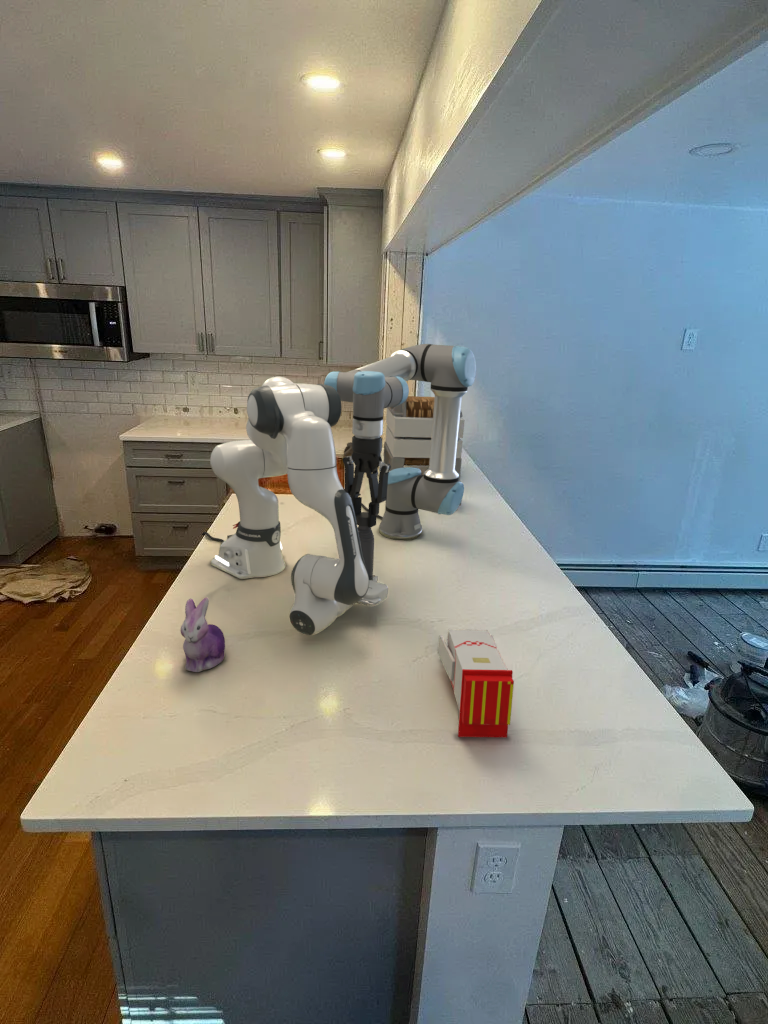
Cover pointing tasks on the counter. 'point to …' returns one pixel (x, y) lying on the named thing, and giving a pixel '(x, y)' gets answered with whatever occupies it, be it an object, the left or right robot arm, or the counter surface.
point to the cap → (362, 518)
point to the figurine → (201, 638)
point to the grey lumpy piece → (348, 450)
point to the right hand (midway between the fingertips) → (364, 523)
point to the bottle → (367, 547)
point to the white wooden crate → (413, 434)
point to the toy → (478, 682)
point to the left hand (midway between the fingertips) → (364, 574)
